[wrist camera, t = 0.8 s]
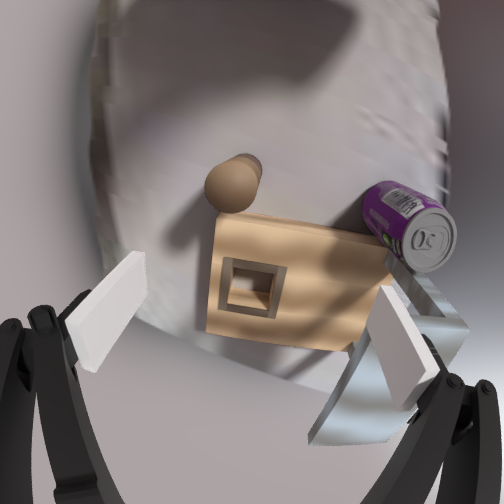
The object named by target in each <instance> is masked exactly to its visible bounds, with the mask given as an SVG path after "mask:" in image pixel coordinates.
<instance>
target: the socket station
mask: <svg viewBox="0 0 504 504" xmlns="http://www.w3.org/2000/svg"><path fill="white" fill-rule="evenodd" d="M234 267H235V268H241V269H247V270H253V271H259V272H265V273H271V274H273V279H272V284H271V289H270V293H264V292H258V291H252V290H246V289H240V288H234V287H232V280H233V273H234ZM393 277H394V279H395V280H396V281H397V283H398V284H399V285H400V287H401V288H402V290H403V291H404V292H405V294H406V295H407V297H408V298H409V299H410V301H411V302H412V304H413V305H414V307H415V308H416V309H417V311H418V312H419V314H420V315H411V314H409V315H410V317H411V318H412V320H413V322H414V323H415V325H416V327H417V328H418V330H419V332H420V334H425V335H426V336H427V337H428V338H429V339H430V340H431V341H432V343H433V345H434V346H435V349H436V350H437V352H438V354H439V355H440V357H441V359H442V361H443V363H444V364H445V366H446V368H447V367H448V366H449V364H450V363H451V361H452V360H453V358H454V357H455V355H456V354H457V352H458V350H459V349H460V347H461V345H462V344H463V342H464V340H465V339H466V337H467V335H468V334H469V332H470V330H471V329H470V328H469V327H468V326H467V324H466V323H465V322H464V320H463V319H462V318H461V317H460V316H459V314H458V313H457V312H456V311H455V309H454V308H453V307H452V306H451V305H450V303H449V302H448V301H447V300H446V299H445V297H444V296H443V295H442V294H441V293H440V292H439V291H438V289H437V288H436V287H435V286H434V285H433V284H432V283H431V281H430V280H429V279H428V278H427V277H426V276H425V275H424V274H423V273H422V272H418V271H415V270H414V269H412V268H409V267H406V266H404V265H403V264H401V263H400V262H399V261H398V260H397V259H396V258H395V257H394V255H393V254H392V253H391V252H390V251H389V250H388V249H387V248H386V247H385V245H384V244H383V243H382V242H381V241H380V240H379V239H378V238H377V237H376V236H372V235H367V234H362V233H357V232H352V231H347V230H342V229H337V228H332V227H327V226H322V225H317V224H311V223H306V222H300V221H295V220H289V219H284V218H278V217H272V216H266V215H260V214H254V213H248V212H239V213H234V214H228V213H223V212H220V213H219V215H218V216H217V218H216V227H215V236H214V245H213V255H212V265H211V275H210V286H209V297H208V309H207V321H206V333H211V334H217V335H222V336H228V337H233V338H239V339H245V340H251V341H258V342H265V343H272V344H279V345H287V346H295V347H303V348H312V349H322V350H332V351H344V352H348V355H349V358H350V360H349V362H348V364H347V366H346V368H345V370H344V372H343V374H342V376H341V378H340V380H339V381H338V383H337V385H336V387H335V389H334V391H333V392H332V394H331V396H330V398H329V400H328V402H327V403H326V405H325V406H324V408H323V410H322V412H321V413H320V415H319V417H318V418H317V420H316V422H315V423H314V425H313V427H312V428H311V429H310V431H309V433H308V445H309V446H340V445H361V444H374V443H384V442H387V441H388V440H389V439H390V438H391V437H392V436H393V434H395V432H396V431H397V430H398V429H399V428H400V427H401V426H402V425H403V424H404V423H405V421H406V420H407V419H408V418H409V417H410V416H411V415H412V413H413V412H414V411H415V410H416V409H417V407H418V406H417V403H416V404H415V405H414V406H413V407H412V409H411V410H410V411H405V412H396V410H395V407H394V404H393V401H392V398H391V395H390V391H389V388H388V385H387V382H386V379H385V376H384V374H383V371H382V368H381V365H380V362H379V359H378V357H377V354H376V351H375V348H374V346H373V343H372V340H371V338H370V335H369V332H368V330H367V327H366V325H365V323H366V321H367V318H368V316H369V313H370V311H371V308H372V306H373V303H374V300H375V298H376V295H377V292H378V290H379V287H380V285H386V286H390V284H391V281H392V279H393Z"/></svg>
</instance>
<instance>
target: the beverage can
mask: <svg viewBox="0 0 504 504" xmlns="http://www.w3.org/2000/svg"><path fill="white" fill-rule="evenodd" d="M362 216H363V220H364V222H365V224H366V226H367V227H368V228H369V229H370V231H371V232H372V233H373V234H374V235H375V236H376V237H377V238H378V239H379V240H380V241H381V242H382V243H383V244H384V245H385V247H386V248H387V249H388V250H389V251H390V252H391V253H392V254H393V255H394V257H395V258H396V259H397V260H398V261H399V262H400V263H401V264H403V265H404V266H406V267H409V268H412V269H414V270H415V271H418V272H431V271H434V270H436V269H438V268H439V267H441V266H442V265H443V264H444V263H445V262H446V261H447V260H448V259H449V257H450V256H451V254H452V252H453V250H454V247H455V244H456V238H457V231H456V225H455V222H454V220H453V218H452V217H451V215H450V214H449V213H447V211H446V209H445V208H444V207H443V206H442V205H441V204H440V203H439V202H437V201H436V200H434V199H432V198H430V197H428V196H426V195H424V194H421V193H419V192H417V191H415V190H413V189H411V188H409V187H406V186H404V185H402V184H400V183H397V182H394V181H383V182H380V183H378V184H376V185H374V186H373V187H372V188H371V189H370V190H369V191H368V193H367V194H366V196H365V198H364V201H363V205H362Z"/></svg>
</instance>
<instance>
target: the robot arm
mask: <svg viewBox="0 0 504 504" xmlns="http://www.w3.org/2000/svg"><path fill="white" fill-rule="evenodd" d="M147 295H148V293H147V281H146V266H145V252H138V251H132V252H131V253H130V254H129V255H128V256H127V257H126V258H125V259H123V260H122V261H121V262H120V263H119V264H118V265H117V266H116V267H115V268H114V269H113V270H112V271H111V272H110V273H109V274H108V275H107V276H106V277H105V278H104V279H103V280H102V281H101V282H100V283H99V284H98V285H97V287H96V288H95V289H94V290H90V289H88V290H86V291H84V292H82V293H80V294H79V295H78V296H77V297H76V298H75V299H74V301H72V302H71V303H70V304H69V306H68V307H66V309H65V310H64V311H63V312H62V313H61V314H60V315H59V316H58V317H56V314H55V310H54V308H53V307H51V306H49V305H40V306H37V307H35V308H33V309H32V310H31V311H30V312H29V313H28V316H27V318H28V320H29V323H30V326H31V328H32V329H28V328H23V326H22V323H21V321H20V320H18V319H16V318H12V319H8V320H5V321H4V322H3V323H2V324H1V325H0V504H33V495H32V479H31V478H32V476H31V448H32V447H31V446H32V429H33V417H34V406H35V399H36V392H37V400H38V407H39V414H40V420H41V425H42V431H43V435H44V440H45V445H46V449H47V453H48V457H49V461H50V465H51V468H52V472H53V475H54V478H55V482H56V489H55V490H54V499H55V502H56V504H125V503H124V501H123V500H122V498H121V496H120V495H119V492H118V490H117V488H116V486H115V484H114V482H113V479H112V477H111V475H110V473H109V471H108V468H107V466H106V463H105V461H104V459H103V456H102V454H101V452H100V448H99V446H98V443H97V440H96V437H95V435H94V432H93V429H92V426H91V423H90V420H89V416H88V413H87V410H86V406H85V403H84V399H83V396H82V392H81V388H80V384H79V380H78V376H77V371H76V368H75V366H74V365H75V363H76V362H77V361H78V360H79V363H80V365H81V368H82V369H85V370H87V371H90V372H93V373H95V374H96V372H97V371H98V369H99V367H100V365H101V364H102V362H103V361H104V359H105V358H106V356H107V355H108V353H109V351H110V350H111V348H112V347H113V345H114V344H115V342H116V340H117V339H118V337H119V336H120V334H121V333H122V331H123V330H124V328H125V327H126V325H127V324H128V322H129V321H130V319H131V318H132V316H133V315H134V313H135V312H136V311H137V309H138V308H139V306H140V305H141V303H142V302H143V300H144V299H145V297H146V296H147ZM365 325H366V327H367V330H368V332H369V335H370V338H371V340H372V343H373V346H374V348H375V351H376V354H377V357H378V359H379V362H380V365H381V368H382V371H383V374H384V376H385V379H386V382H387V385H388V388H389V391H390V395H391V398H392V401H393V404H394V407H395V410H396V412H405V411H410V410H411V409H412V407H413V406H414V405H415V404H416V403H417V406H418V410H417V412H416V413H415V414H414V415H413V416H412V417H411V419H410V420H409V421H408V422H407V423H408V424H409V423H410V425H409V426H408V428H407V430H406V432H405V434H404V436H403V438H402V440H401V441H400V443H399V445H398V447H397V449H396V450H395V452H394V454H393V455H392V457H391V459H390V460H389V462H388V464H387V465H386V467H385V469H384V470H383V472H382V473H381V475H380V476H379V478H378V479H377V481H376V482H375V484H374V485H373V487H372V488H371V490H370V491H369V492H368V494H367V495H366V496H365V498H364V499H363V501H362V502H361V503H360V504H424V502H425V500H426V498H427V496H428V494H429V492H430V490H431V488H432V486H433V484H434V481H435V479H436V477H437V475H438V472H439V470H440V468H441V465H442V463H443V468H442V474H441V480H440V485H439V490H438V494H437V499H436V503H435V504H499V501H500V492H501V475H502V442H501V425H500V415H499V406H498V399H497V392H496V389H495V387H494V385H493V384H492V383H491V382H490V381H487V380H483V379H482V380H479V382H478V383H477V384H476V386H475V387H473V386H468V385H465V384H464V382H463V380H462V379H461V378H460V377H459V376H458V375H456V374H453V373H449V372H448V370H447V368H446V366H445V364H444V363H443V361H442V359H441V357H440V355H439V354H438V352H437V350H436V349H435V346H434V345H433V343H432V341H431V340H430V339H429V338H428V337H427V336H426V335H425V334H420V332H419V330H418V328H417V327H416V325H415V323H414V322H413V320H412V318H411V317H410V315H409V313H408V312H407V310H406V308H405V307H404V305H403V303H402V302H401V300H400V299H399V297H398V295H397V294H396V292H395V291H394V289H393V288H392V286H386V285H380V287H379V290H378V292H377V295H376V298H375V300H374V303H373V306H372V308H371V311H370V313H369V316H368V318H367V321H366V323H365ZM443 460H444V461H443Z"/></svg>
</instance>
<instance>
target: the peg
mask: <svg viewBox="0 0 504 504" xmlns="http://www.w3.org/2000/svg"><path fill="white" fill-rule="evenodd" d="M261 175H262V166H261V163H260V161H259V160H258V159H257V158H256V157H255V156H253V155H251V154H239V155H237V156H235V157H233V158H231V159H229V160H227V161H225V162H223V163H221V164H220V165H218V166H216V167H215V168H213V169H212V170H211V171H210V172H209V174H208V176H207V178H206V181H205V187H204V189H205V195H206V198H207V200H208V201H209V203H210V204H211V205H212V206H213V207H214V208H215V209H217V210H218V211H220V212H223V213H228V214H234V213H239V212H242V211H244V210H245V209H247V208H248V207H249V206H250V205H251V204H252V202H253V201H254V199H255V196H256V193H257V189H258V186H259V182H260V179H261Z"/></svg>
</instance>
